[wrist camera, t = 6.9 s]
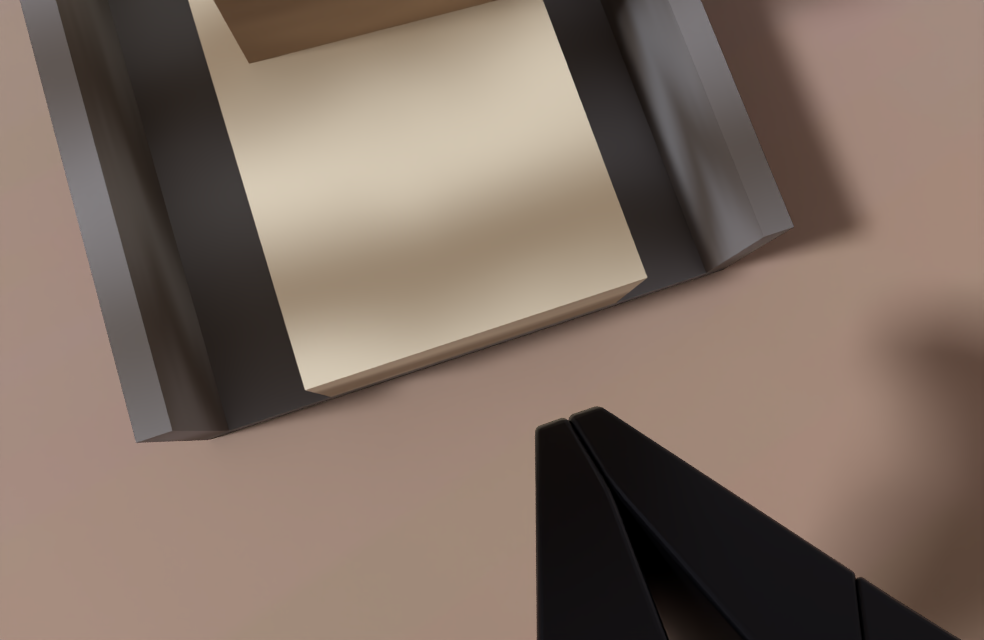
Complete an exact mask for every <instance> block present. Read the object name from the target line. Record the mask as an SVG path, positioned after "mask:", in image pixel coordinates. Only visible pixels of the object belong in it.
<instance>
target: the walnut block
mask: <svg viewBox="0 0 984 640" xmlns="http://www.w3.org/2000/svg"><path fill="white" fill-rule="evenodd" d="M492 1H496V0H214V2H215V4H216V6H217V8H218V9H219V11H220V13H221V15H222V16H223V18H224V20H225V22H226V24H227V25H228V27H229V29H230V31H231V33H232V34H233V36H234V38H235V40H236V41H237V43H238V45H239V47H240V49H241V50H242V52H243V54H244V56H245V57H246V59H247V61H248V63H249V64H250V63H254V62H258V61H262V60H266V59H270V58H274V57H278V56H281V55H285V54H289V53H293V52H297V51H301V50H305V49H309V48H313V47H317V46H320V45H324V44H328V43H332V42H336V41H340V40H344V39H348V38H352V37H356V36H360V35H363V34H367V33H371V32H375V31H379V30H383V29H387V28H391V27H395V26H399V25H402V24H406V23H410V22H414V21H418V20H422V19H426V18H430V17H434V16H438V15H442V14H445V13H449V12H453V11H457V10H461V9H465V8H469V7H473V6H477V5H481V4H485V3H488V2H492Z"/></svg>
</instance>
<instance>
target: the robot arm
mask: <svg viewBox="0 0 984 640" xmlns="http://www.w3.org/2000/svg"><path fill="white" fill-rule="evenodd" d="M535 479H536V595H537V640H961V639H959V638H957V637H955V636H954V635H952V634H950V633H949V632H947V631H946V630H944V629H942V628H941V627H939V626H938V625H936V624H934V623H933V622H931V621H930V620H928V619H926V618H925V617H923V616H922V615H920V614H918V613H917V612H915V611H914V610H912V609H910V608H909V607H907V606H906V605H904V604H902V603H901V602H899V601H897V600H896V599H894V598H893V597H891V596H890V595H888V594H887V593H885V592H884V591H882V590H881V589H879V588H878V587H876V586H875V585H873V584H872V583H870V582H869V581H867V580H866V579H864V578H862V577H858V578H857V579H856V578H855V574H854V572H853V571H851V570H850V569H848V568H847V567H845V566H844V565H842V564H841V563H839V562H838V561H836V560H835V559H833V558H832V557H830V556H828V555H827V554H825V553H824V552H822V551H821V550H819V549H818V548H816V547H815V546H813V545H812V544H810V543H809V542H807V541H806V540H804V539H802V538H801V537H799V536H798V535H796V534H795V533H793V532H792V531H790V530H789V529H787V528H786V527H784V526H783V525H781V524H780V523H778V522H777V521H775V520H773V519H772V518H770V517H769V516H767V515H766V514H764V513H763V512H761V511H760V510H758V509H757V508H755V507H754V506H752V505H751V504H749V503H747V502H746V501H744V500H743V499H741V498H740V497H738V496H737V495H735V494H734V493H732V492H731V491H729V490H728V489H726V488H725V487H723V486H722V485H720V484H718V483H717V482H715V481H714V480H712V479H711V478H709V477H708V476H706V475H705V474H703V473H702V472H700V471H699V470H697V469H696V468H694V467H692V466H691V465H689V464H688V463H686V462H685V461H683V460H682V459H680V458H679V457H677V456H676V455H674V454H673V453H671V452H670V451H668V450H667V449H665V448H663V447H662V446H660V445H659V444H657V443H656V442H654V441H653V440H651V439H650V438H648V437H647V436H645V435H644V434H642V433H641V432H639V431H637V430H636V429H634V428H633V427H631V426H630V425H628V424H627V423H625V422H624V421H622V420H621V419H619V418H618V417H616V416H615V415H613V414H612V413H610V412H608V411H607V410H605V409H604V408H602V407H592V408H589V409H587V410H584V411H581V412H578V413H575V414H572V415H571V416H570V417H569V420H567V419H565V418H561V419H558V420H555V421H552V422H549V423H546V424H543V425H540V426H538V427H537V428H536V431H535Z"/></svg>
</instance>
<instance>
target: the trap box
mask: <svg viewBox="0 0 984 640" xmlns="http://www.w3.org/2000/svg"><path fill="white" fill-rule="evenodd" d="M20 3H21V6H22V10H23V14H24V18H25V22H26V26H27V29H28V33H29V37H30V41H31V45H32V48H33V52H34V56H35V60H36V64H37V67H38V71H39V75H40V79H41V83H42V86H43V90H44V94H45V98H46V102H47V105H48V109H49V113H50V117H51V121H52V124H53V128H54V132H55V136H56V140H57V143H58V147H59V151H60V155H61V159H62V162H63V166H64V170H65V174H66V178H67V181H68V185H69V189H70V193H71V197H72V200H73V204H74V208H75V212H76V216H77V219H78V223H79V227H80V231H81V235H82V238H83V242H84V246H85V250H86V254H87V257H88V261H89V265H90V269H91V273H92V276H93V280H94V284H95V288H96V292H97V295H98V299H99V303H100V307H101V311H102V315H103V318H104V322H105V326H106V330H107V334H108V337H109V341H110V345H111V349H112V353H113V356H114V360H115V364H116V368H117V372H118V375H119V379H120V383H121V387H122V391H123V394H124V398H125V402H126V406H127V410H128V413H129V417H130V421H131V425H132V429H133V432H134V436H135V440H136V443H141V442H166V441H192V440H209V439H212V438H215V437H218V436H221V435H224V434H228V433H231V432H234V431H237V430H240V429H243V428H246V427H249V426H252V425H255V424H258V423H261V422H264V421H267V420H270V419H273V418H276V417H279V416H282V415H285V414H288V413H291V412H294V411H297V410H300V409H303V408H306V407H309V406H312V405H315V404H318V403H321V402H324V401H327V400H330V399H333V398H336V397H339V396H342V395H345V394H348V393H351V392H354V391H357V390H360V389H363V388H366V387H369V386H373V385H376V384H379V383H382V382H385V381H388V380H391V379H394V378H397V377H400V376H403V375H406V374H409V373H412V372H415V371H418V370H421V369H424V368H427V367H430V366H433V365H436V364H439V363H442V362H445V361H448V360H451V359H454V358H457V357H460V356H463V355H466V354H469V353H472V352H475V351H478V350H481V349H484V348H487V347H490V346H493V345H496V344H499V343H502V342H505V341H508V340H511V339H514V338H517V337H521V336H524V335H527V334H530V333H533V332H536V331H539V330H542V329H545V328H548V327H551V326H554V325H557V324H560V323H563V322H566V321H569V320H572V319H575V318H578V317H581V316H584V315H587V314H590V313H593V312H596V311H599V310H602V309H605V308H608V307H611V306H614V305H617V304H620V303H623V302H626V301H629V300H632V299H635V298H638V297H641V296H644V295H647V294H650V293H653V292H656V291H659V290H662V289H666V288H669V287H672V286H675V285H678V284H681V283H684V282H687V281H690V280H693V279H696V278H699V277H702V276H705V275H708V274H711V273H714V272H717V271H720V270H723V269H725V268H726V267H728V266H730V265H731V264H733V263H735V262H736V261H738V260H740V259H741V258H743V257H745V256H746V255H748V254H750V253H751V252H753V251H755V250H756V249H758V248H760V247H761V246H763V245H765V244H766V243H768V242H770V241H771V240H773V239H775V238H776V237H778V236H780V235H781V234H783V233H785V232H786V231H788V230H790V229H791V228H793V227H794V226H793V223H792V221H791V218H790V216H789V214H788V211H787V209H786V206H785V204H784V201H783V199H782V197H781V194H780V192H779V189H778V187H777V184H776V182H775V180H774V177H773V175H772V172H771V170H770V167H769V165H768V162H767V160H766V158H765V155H764V153H763V150H762V148H761V145H760V143H759V141H758V138H757V136H756V133H755V131H754V128H753V126H752V124H751V121H750V119H749V116H748V114H747V111H746V109H745V107H744V104H743V102H742V99H741V97H740V94H739V92H738V90H737V87H736V85H735V82H734V80H733V77H732V75H731V72H730V70H729V68H728V65H727V63H726V60H725V58H724V55H723V53H722V51H721V48H720V46H719V43H718V41H717V38H716V36H715V34H714V31H713V29H712V26H711V24H710V21H709V19H708V17H707V14H706V12H705V9H704V7H703V4H702V2H701V0H496V1H492V2H488V3H485V4H481V5H477V6H473V7H469V8H465V9H461V10H457V11H453V12H449V13H445V14H442V15H438V16H434V17H430V18H426V19H422V20H418V21H414V22H410V23H406V24H402V25H399V26H395V27H391V28H387V29H383V30H379V31H375V32H371V33H367V34H363V35H360V36H356V37H352V38H348V39H344V40H340V41H336V42H332V43H328V44H324V45H320V46H317V47H313V48H309V49H305V50H301V51H297V52H293V53H289V54H285V55H281V56H278V57H274V58H270V59H266V60H262V61H258V62H254V63H250V64H249V63H248V61H247V59H246V57H245V56H244V54H243V52H242V50H241V49H240V47H239V45H238V43H237V41H236V40H235V38H234V36H233V34H232V33H231V31H230V29H229V27H228V25H227V24H226V22H225V20H224V18H223V16H222V15H221V13H220V11H219V9H218V8H217V6H216V4H215V2H214V0H20Z"/></svg>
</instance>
